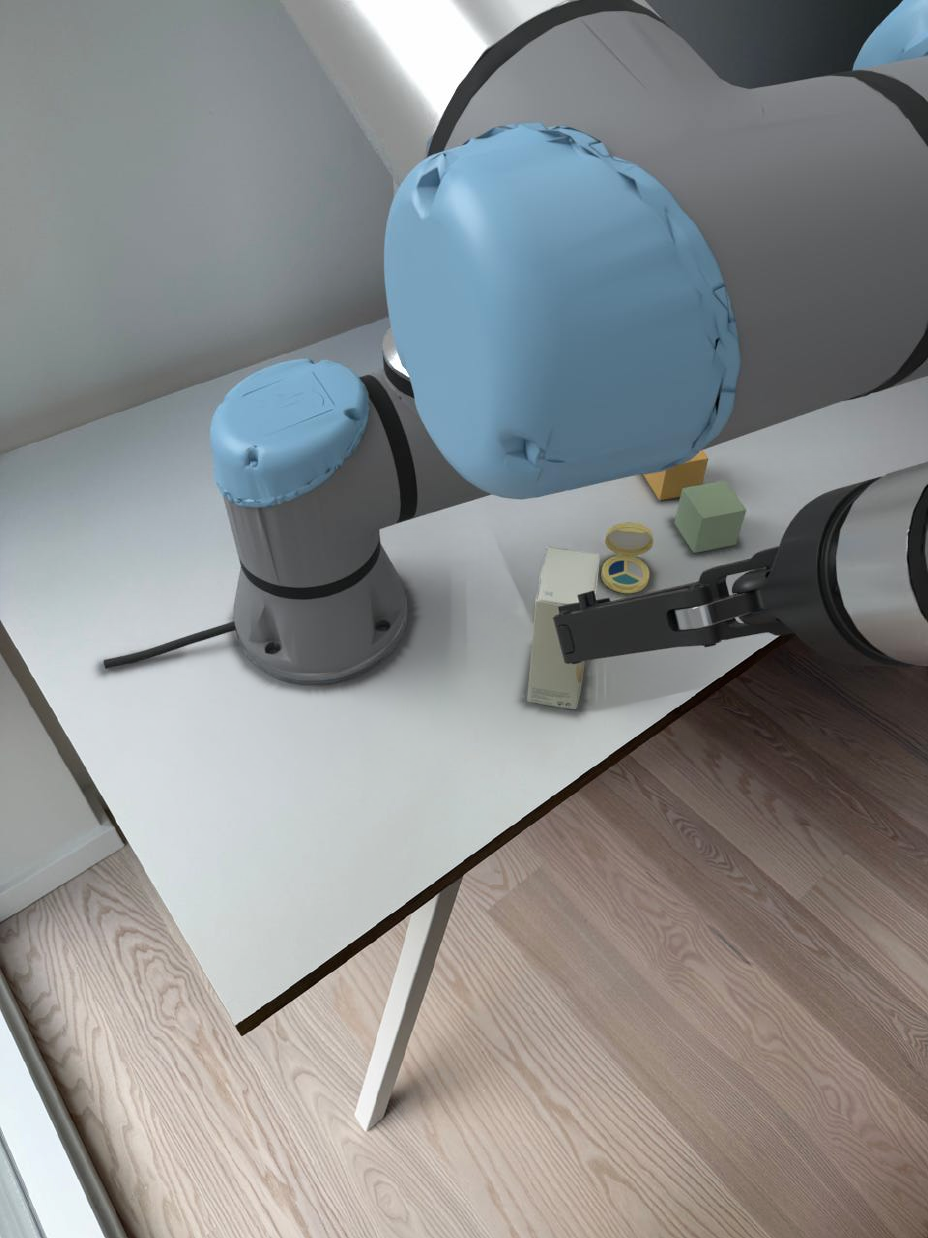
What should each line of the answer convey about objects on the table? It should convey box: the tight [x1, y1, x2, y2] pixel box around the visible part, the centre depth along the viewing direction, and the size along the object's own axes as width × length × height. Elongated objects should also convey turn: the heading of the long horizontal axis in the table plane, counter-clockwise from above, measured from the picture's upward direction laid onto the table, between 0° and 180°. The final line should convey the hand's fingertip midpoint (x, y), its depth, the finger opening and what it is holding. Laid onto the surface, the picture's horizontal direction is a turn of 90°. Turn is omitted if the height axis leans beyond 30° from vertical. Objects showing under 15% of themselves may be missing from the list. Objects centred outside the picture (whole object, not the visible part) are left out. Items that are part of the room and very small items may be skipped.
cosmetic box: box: [526, 545, 601, 710], centre depth 71 cm, size 6×4×12 cm
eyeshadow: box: [600, 521, 654, 594], centre depth 82 cm, size 4×5×5 cm
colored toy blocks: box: [642, 450, 747, 554], centre depth 94 cm, size 4×28×4 cm, turn 16°
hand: (670, 599), depth 55 cm, fingers open, 13 cm apart
